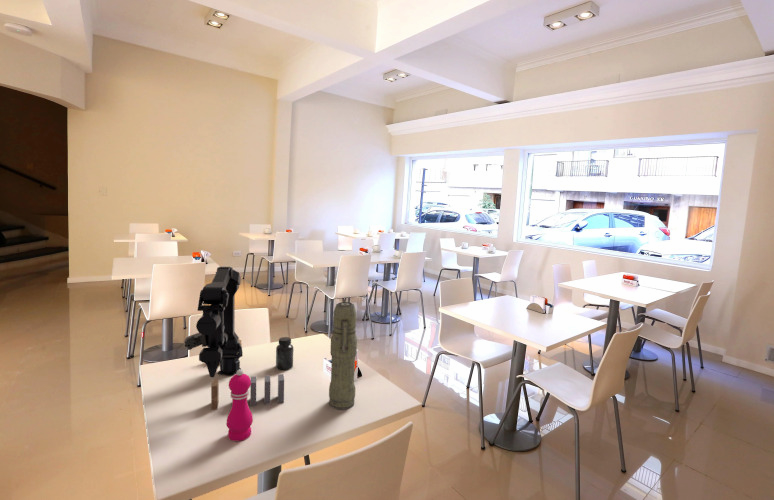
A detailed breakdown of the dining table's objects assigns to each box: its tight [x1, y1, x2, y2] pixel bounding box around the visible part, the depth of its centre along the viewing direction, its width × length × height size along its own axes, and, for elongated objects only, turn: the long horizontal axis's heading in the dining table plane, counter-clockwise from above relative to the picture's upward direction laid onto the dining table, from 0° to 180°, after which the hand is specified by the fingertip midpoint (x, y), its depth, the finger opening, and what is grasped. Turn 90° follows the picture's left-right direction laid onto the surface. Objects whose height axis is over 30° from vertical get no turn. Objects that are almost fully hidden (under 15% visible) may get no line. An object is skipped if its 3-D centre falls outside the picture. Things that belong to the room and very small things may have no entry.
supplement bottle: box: [275, 336, 294, 371], centre depth 167 cm, size 7×7×12 cm
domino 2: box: [249, 375, 257, 407], centre depth 138 cm, size 2×5×8 cm, turn 17°
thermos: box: [328, 301, 358, 410], centre depth 139 cm, size 9×12×35 cm
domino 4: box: [277, 373, 285, 404], centre depth 141 cm, size 2×5×8 cm, turn 17°
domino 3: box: [263, 374, 271, 405], centre depth 140 cm, size 2×5×8 cm, turn 17°
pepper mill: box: [225, 368, 254, 442], centre depth 118 cm, size 7×7×20 cm
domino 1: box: [210, 378, 220, 411], centre depth 135 cm, size 2×5×8 cm, turn 18°
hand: (214, 371), depth 134 cm, fingers open, 9 cm apart
